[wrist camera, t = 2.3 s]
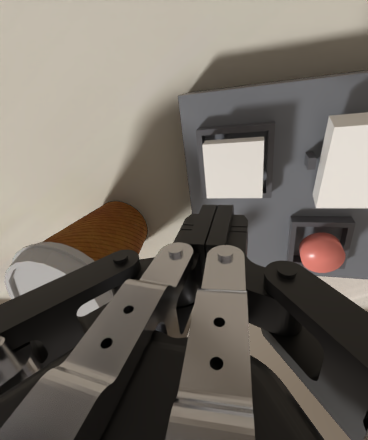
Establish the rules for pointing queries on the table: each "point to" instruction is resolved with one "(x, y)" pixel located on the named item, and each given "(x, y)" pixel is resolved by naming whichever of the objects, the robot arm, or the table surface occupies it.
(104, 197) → the table surface
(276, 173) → the panel
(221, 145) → the paddle
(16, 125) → the table surface
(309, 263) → the button
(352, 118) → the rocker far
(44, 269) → the disposable coffee cup
